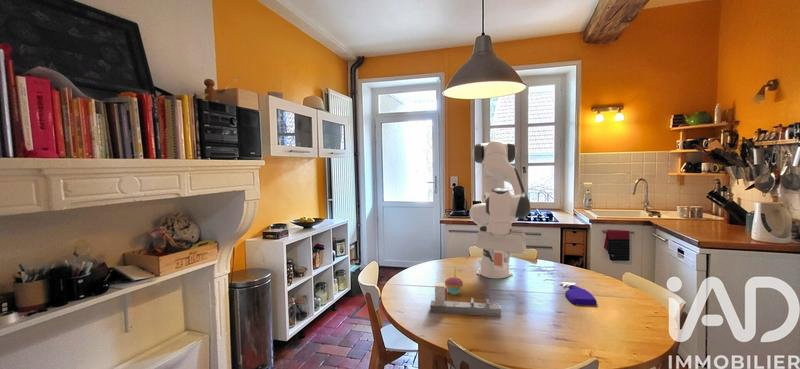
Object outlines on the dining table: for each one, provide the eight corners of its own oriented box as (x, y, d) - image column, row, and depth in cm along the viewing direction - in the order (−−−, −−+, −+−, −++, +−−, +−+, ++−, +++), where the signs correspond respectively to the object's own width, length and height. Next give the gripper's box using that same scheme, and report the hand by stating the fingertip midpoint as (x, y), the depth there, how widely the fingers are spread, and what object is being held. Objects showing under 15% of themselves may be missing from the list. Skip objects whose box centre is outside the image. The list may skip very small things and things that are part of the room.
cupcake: (449, 288, 165) (448, 264, 164) (465, 291, 161) (465, 266, 160) (442, 294, 158) (441, 269, 157) (459, 297, 153) (458, 271, 153)
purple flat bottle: (599, 300, 141) (579, 280, 165) (571, 298, 143) (555, 279, 167) (599, 307, 141) (579, 286, 165) (571, 305, 143) (555, 285, 167)
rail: (431, 307, 144) (431, 282, 143) (499, 311, 139) (499, 284, 138) (430, 312, 139) (429, 286, 138) (501, 316, 134) (500, 289, 133)
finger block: (493, 269, 138) (492, 250, 138) (497, 266, 142) (497, 248, 142) (502, 271, 136) (502, 251, 135) (507, 268, 140) (507, 249, 139)
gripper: (528, 229, 134) (528, 263, 135) (481, 224, 147) (481, 255, 148) (522, 231, 129) (522, 267, 130) (474, 226, 143) (474, 259, 143)
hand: (500, 261), depth 139 cm, fingers closed on finger block, 4 cm apart
